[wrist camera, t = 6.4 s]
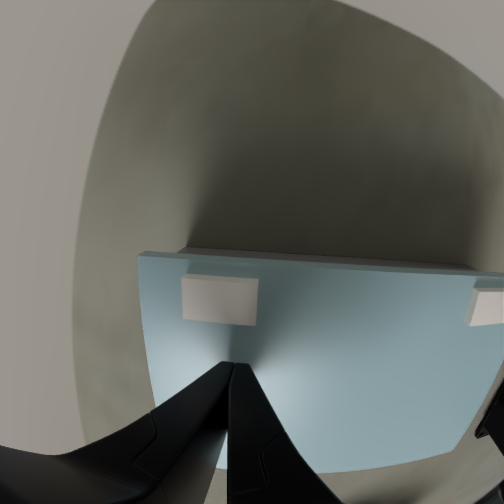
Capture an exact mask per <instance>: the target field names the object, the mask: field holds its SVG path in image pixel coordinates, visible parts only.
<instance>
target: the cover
mask: <svg viewBox="0 0 504 504" xmlns="http://www.w3.org/2000/svg"><path fill="white" fill-rule="evenodd" d="M137 269H138V283H139V295H140V306H141V316H142V325H143V333H144V340H145V348H146V354H147V361H148V367H149V373H150V379H151V384H152V390H153V395H154V400H155V405H156V407H158V406H159V405H160V404H162V403H163V402H165V401H166V400H168V399H169V398H171V397H172V396H173V395H175V394H176V393H178V392H179V391H181V390H182V389H183V388H185V387H186V386H188V385H189V384H190V383H192V382H193V381H195V380H196V379H197V378H199V377H200V376H201V375H203V374H204V373H205V372H207V371H208V370H210V369H211V368H212V367H214V366H215V365H216V364H218V363H219V362H220V361H228V362H234V363H237V362H238V363H248V364H250V366H251V368H252V370H253V372H254V374H255V376H256V378H257V379H258V381H259V383H260V385H261V387H262V389H263V391H264V393H265V394H266V396H267V398H268V400H269V402H270V404H271V406H272V407H273V409H274V411H275V413H276V415H277V416H278V418H279V420H280V422H281V424H282V425H283V427H284V429H285V432H287V434H288V436H289V437H290V439H291V441H292V442H293V444H294V445H295V447H296V449H297V450H298V452H299V453H300V455H301V456H302V457H303V458H304V460H305V461H306V462H307V463H308V465H309V466H310V467H311V468H312V469H313V471H314V472H315V473H333V472H346V471H356V470H365V469H372V468H379V467H385V466H391V465H397V464H402V463H407V462H412V461H416V460H420V459H424V458H428V457H432V456H436V455H440V454H443V453H447V452H450V451H453V449H454V448H455V446H456V445H457V443H458V442H459V440H460V439H461V437H462V436H463V434H464V433H465V431H466V430H467V428H468V427H469V425H470V423H471V422H472V420H473V418H474V417H475V415H476V413H477V412H478V410H479V408H480V406H481V405H482V403H483V401H484V399H485V397H486V395H487V393H488V391H489V390H490V388H491V386H492V384H493V382H494V379H495V377H496V375H497V373H498V371H499V369H500V366H501V364H502V362H503V360H504V273H499V272H479V271H460V270H441V269H422V268H404V267H387V266H369V265H352V264H336V263H319V262H303V261H287V260H271V259H256V258H240V257H225V256H210V255H196V254H181V253H167V252H152V251H144V252H143V253H141V254H139V255H137ZM216 468H220V469H227V434H226V438H225V441H224V444H223V447H222V450H221V453H220V456H219V459H218V462H217V465H216Z"/></svg>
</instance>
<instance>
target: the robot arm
mask: <svg viewBox="0 0 504 504" xmlns="http://www.w3.org/2000/svg"><path fill="white" fill-rule="evenodd" d="M226 434H227V504H344V503H343V502H342V501H341V500H340V499H339V498H338V497H337V496H336V495H335V494H334V493H333V492H332V491H331V490H330V489H329V488H328V486H327V485H326V484H325V483H324V482H323V481H322V480H321V479H320V477H319V476H318V475H317V474H316V473H315V472H314V471H313V469H312V468H311V467H310V466H309V465H308V463H307V462H306V461H305V460H304V458H303V457H302V456H301V455H300V453H299V452H298V450H297V449H296V447H295V445H294V444H293V442H292V441H291V439H290V437H289V436H288V434H287V432H285V429H284V427H283V425H282V424H281V422H280V420H279V418H278V416H277V415H276V413H275V411H274V409H273V407H272V406H271V404H270V402H269V400H268V398H267V396H266V394H265V393H264V391H263V389H262V387H261V385H260V383H259V381H258V379H257V378H256V376H255V374H254V372H253V370H252V368H251V366H250V364H248V363H238V362H237V363H234V362H228V361H220V362H219V363H218V364H216V365H215V366H214V367H212V368H211V369H210V370H208V371H207V372H205V373H204V374H203V375H201V376H200V377H199V378H197V379H196V380H195V381H193V382H192V383H190V384H189V385H188V386H186V387H185V388H183V389H182V390H181V391H179V392H178V393H176V394H175V395H173V396H172V397H171V398H169V399H168V400H166V401H165V402H163V403H162V404H160V405H159V406H158V407H156V408H155V409H153V410H152V411H150V413H147V414H145V415H144V416H142V417H141V418H139V419H138V420H136V421H134V422H133V423H131V424H129V425H128V426H126V427H124V428H122V429H120V430H119V431H117V432H115V433H113V434H111V435H109V436H106V437H104V438H102V439H100V440H98V441H95V442H93V443H91V444H88V445H86V446H84V447H81V448H79V449H77V450H74V451H72V452H69V453H65V454H61V455H44V454H38V453H32V452H26V451H22V450H17V449H13V448H9V447H5V446H1V445H0V504H204V501H205V498H206V495H207V492H208V489H209V486H210V483H211V480H212V477H213V474H214V471H215V468H216V465H217V462H218V459H219V456H220V453H221V450H222V447H223V444H224V441H225V438H226ZM486 435H490V437H491V438H492V440H493V441H494V443H495V444H496V446H497V447H498V449H499V450H500V452H501V453H502V455H503V456H504V383H503V385H502V387H501V389H500V391H499V393H498V395H497V397H496V398H495V400H494V402H493V404H492V406H491V408H490V409H489V411H488V413H487V415H486V416H485V418H484V420H483V421H482V423H481V425H480V426H479V428H478V430H477V431H476V433H475V437H476V438H477V439H478V438H481V437H484V436H486ZM499 486H500V489H501V495H502V499H503V503H504V480H503V481H502V482H501V483H500V484H499Z"/></svg>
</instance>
